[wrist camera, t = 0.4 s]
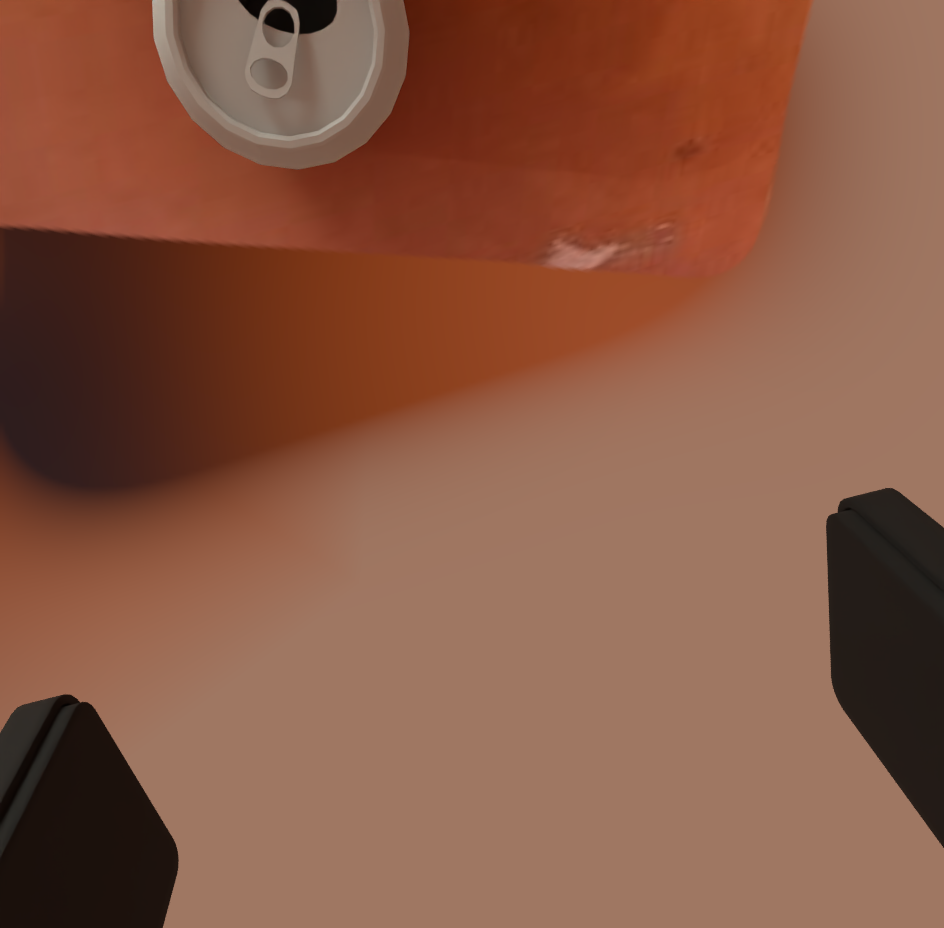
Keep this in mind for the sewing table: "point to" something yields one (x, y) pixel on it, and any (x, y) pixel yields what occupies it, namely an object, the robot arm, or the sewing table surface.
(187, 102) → the can
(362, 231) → the sewing table surface
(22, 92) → the sewing table surface
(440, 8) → the sewing table surface
